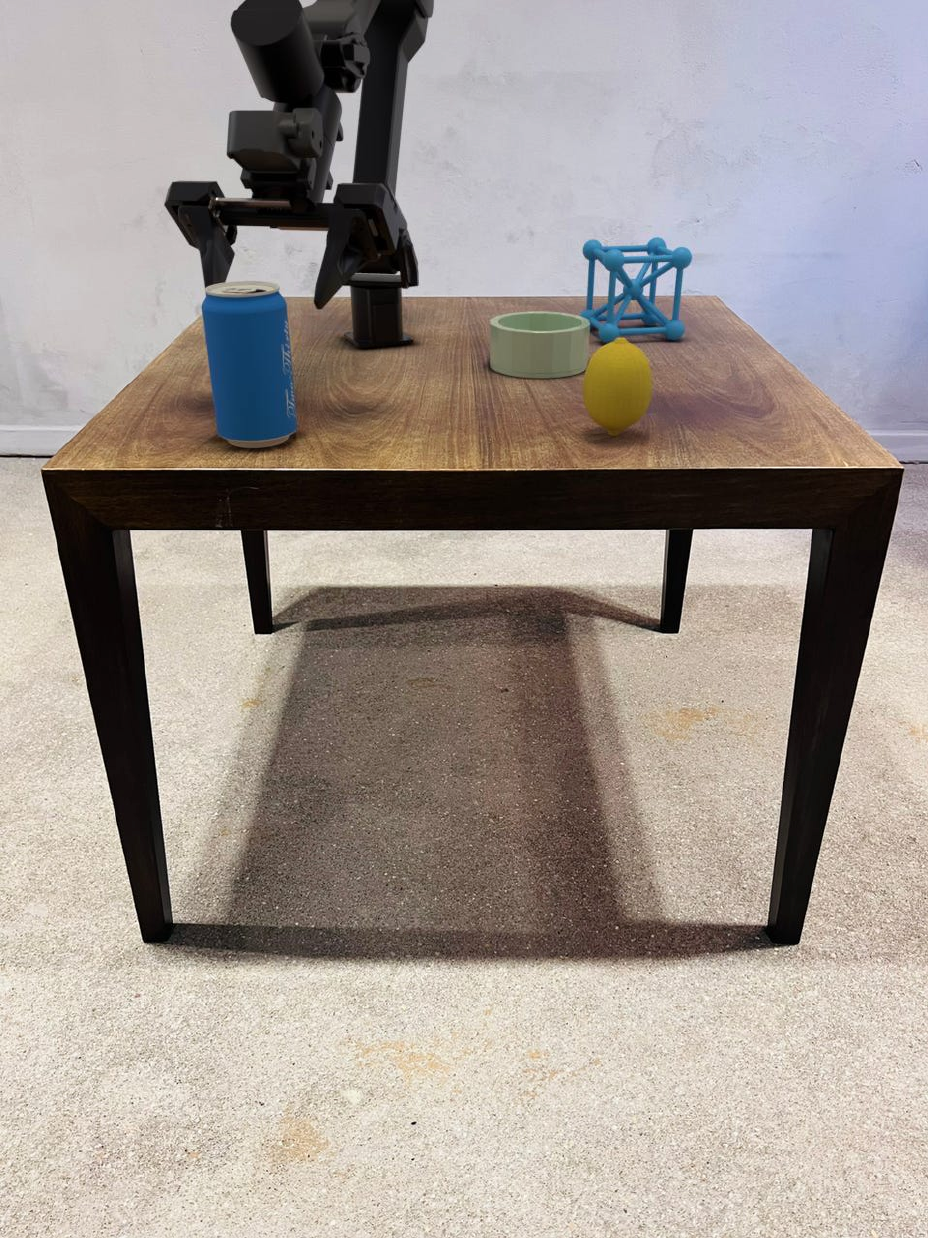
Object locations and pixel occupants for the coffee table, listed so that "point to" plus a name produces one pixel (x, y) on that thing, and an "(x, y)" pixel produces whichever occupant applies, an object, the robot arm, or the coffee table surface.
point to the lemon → (617, 386)
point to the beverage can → (250, 363)
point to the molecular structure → (635, 288)
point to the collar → (539, 344)
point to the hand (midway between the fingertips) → (263, 304)
